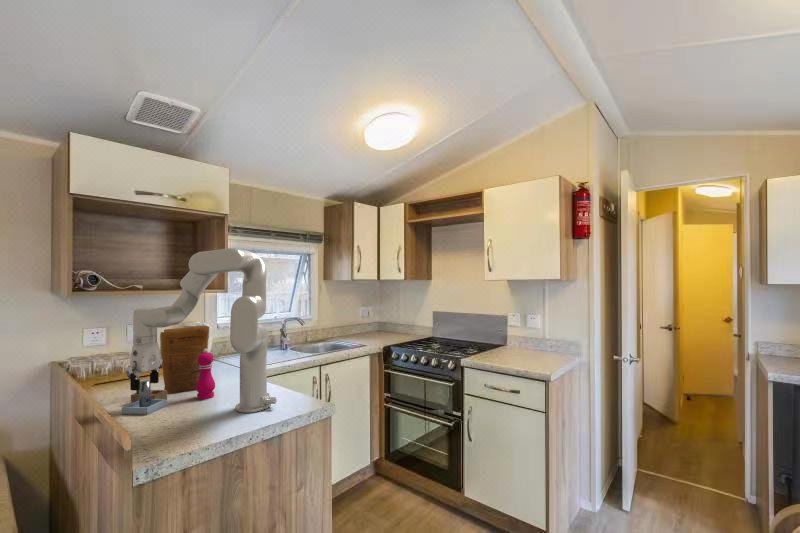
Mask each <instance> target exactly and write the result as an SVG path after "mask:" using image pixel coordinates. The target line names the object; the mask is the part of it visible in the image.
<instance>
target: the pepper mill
mask: <svg viewBox="0 0 800 533" xmlns="http://www.w3.org/2000/svg"><path fill="white" fill-rule="evenodd" d="M203 352H204V353H201V354H200V355H199V356H198V359H197V361H198V363H199V364H200V365H199V369H200V376H199V379H198V381H197V384H196V390H195V391H196V392H197V394H196V399H197V400H209V399H212V398H214V397H215V392H214V390H215V388H216V382H215V380H214V378H213V375H212V368H213V362H214V360H215V359H214V358H215V357H214V355H213V353H211V352H209V349H204V350H203Z"/></svg>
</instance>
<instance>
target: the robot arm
mask: <svg viewBox="0 0 800 533" xmlns="http://www.w3.org/2000/svg"><path fill="white" fill-rule="evenodd" d="M188 268H189V271H188V272H187V274H185V275H184V276H183V278H182V279H181V280H180V281H179V285H180V288H181V293H180V295H179V297H178V298H177V299H176V300H175V301H174V303H173V304H171V305H168V306H162V307H161V306H160V307H153V306H152V307H151V306H150V307H146V306H145V307H137V308H135V309H134V310H133V314H132V321H133V322H132V324H133V325H132V333H133V334H132V347H131V354H130V364H129V366H128V367H126V368H125V370H124V372H125V373H126V376H127V378H128V379H129V380H130V391H136V390H137V391H138V390H140V381H141V380H140V376H141V374H145V373H148V372H150V373H149V380H150V384H158V383H159V379H160V378H159V376H160V375H159V373H160V372H161V369H162V361H163V360H162V359H161V353H160V344H159V342H158V328H161V329H162V328H167V327H170V326H175V325H179V324H181V323H183V321H184V320H186V318H187V317H188V316H189V315H190V314H191V312H193V310H194V309H195V308H196V306H197V305H198V303H199V300H200V296H201V295H202V294H203V293H204V291H205V290H206V288H208V286H209V285H210V284H211V283H212V281H213V280H215V278H216V277H217V276H218V275H219V274H222V273H230V272H234V273H236V272H238V273H243V279H242V284H241V285H242V286H241V287H242V290H241V291H242V292H241V293H242V294H241V296H240V297H238V298H237V299H235V300H234V302H233V303H232V306H231V309H230V321H229V323H230V324H229V325H230V327H229V329H230V332H229V339H230V344H231V348H233V350H234V351H236V352H238V353H240V355H239V403H237V404H236V405H235V408H234V410H235V411H236V412H239V413H246V414H247V413H256V412H257V411H258V412H261V410H262V411H265V410H267V409H268V407H269V408H270V407H271V406H272V405H276V404H277V396H275V397H274V396H273V397H271V396H270V392H268V391H267V390H268V389H267V385H268V383H267V381H268V380H267V374H268V373H267V371H268V370H267V369H268V368H267V366H268V365H267V363H268V362H267V360H268V359H267V356H268V355H267V354H268V344H269V334H268V333H269V332H268V330H267V328H266V327H265V326H264V325H263V324H261V323H259V319H260V318H262V317H263V316H264V315H265V314H266V311H267V268H266V265H265V262H264V261H263V259H262V258H261V257H260V256H259V255H257V254H256V253H254V252H252V251H249V250H247V249H242V248H241V249H240V248H236V247H235V248H234V247H231V248H230V247H229V248H220V249H215V250H214V249H213V250H206V251H205V250H204V251H198V252H196V253H194V254H193V255H192V256H190V259H189V260H188ZM266 408H267V409H266ZM264 409H265V410H264Z"/></svg>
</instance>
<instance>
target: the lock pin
mask: <svg viewBox="0 0 800 533" xmlns="http://www.w3.org/2000/svg"><path fill="white" fill-rule="evenodd" d="M151 390H152V389H151V383H150V379H148V380H146V379H144V380H140V390H139V407H149V406H151Z"/></svg>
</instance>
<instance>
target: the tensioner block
mask: <svg viewBox="0 0 800 533" xmlns="http://www.w3.org/2000/svg"><path fill="white" fill-rule="evenodd" d="M151 399H167V400H168V393H167V390H164V389H151ZM136 401H139V390H138V391H137V390H135V392H134V393H131V394H130V404H131V403H134V402H136Z"/></svg>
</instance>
